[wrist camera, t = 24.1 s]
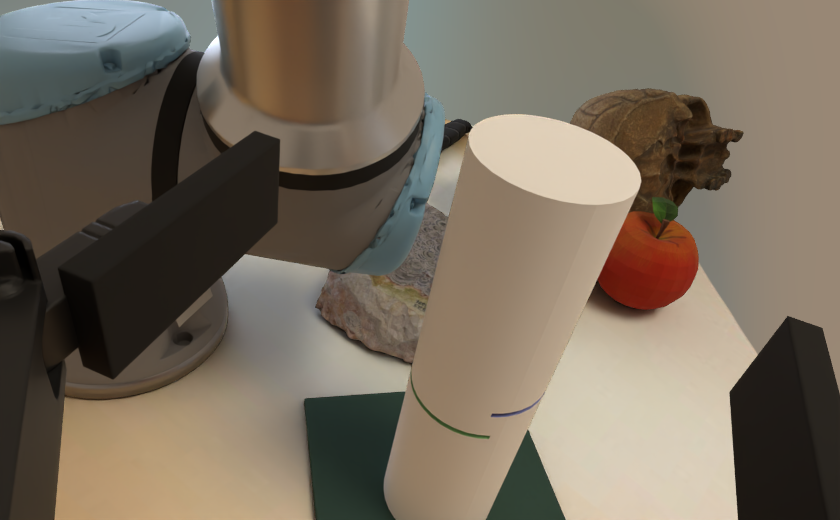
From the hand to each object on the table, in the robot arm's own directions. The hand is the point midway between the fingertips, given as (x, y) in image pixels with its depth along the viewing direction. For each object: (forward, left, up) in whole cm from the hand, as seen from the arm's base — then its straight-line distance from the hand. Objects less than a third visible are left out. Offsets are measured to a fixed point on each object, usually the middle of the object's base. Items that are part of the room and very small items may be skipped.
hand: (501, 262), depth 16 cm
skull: (+42, +37, -18) cm, 59 cm away
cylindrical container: (+6, +9, -27) cm, 29 cm away
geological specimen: (+8, +27, -27) cm, 39 cm away
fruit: (+31, +27, -27) cm, 49 cm away
